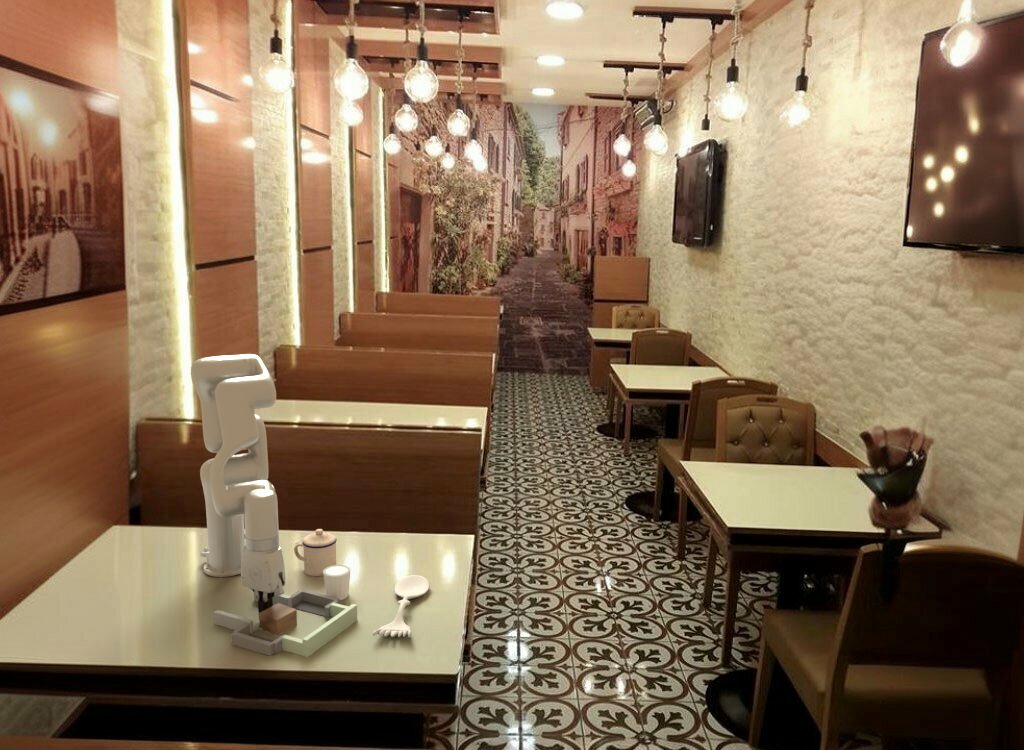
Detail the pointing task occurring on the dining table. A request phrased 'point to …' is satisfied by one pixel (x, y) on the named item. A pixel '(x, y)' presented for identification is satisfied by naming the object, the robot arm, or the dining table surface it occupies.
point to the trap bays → (268, 647)
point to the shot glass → (337, 581)
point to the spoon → (404, 604)
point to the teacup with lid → (317, 552)
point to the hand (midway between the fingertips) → (265, 613)
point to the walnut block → (278, 619)
